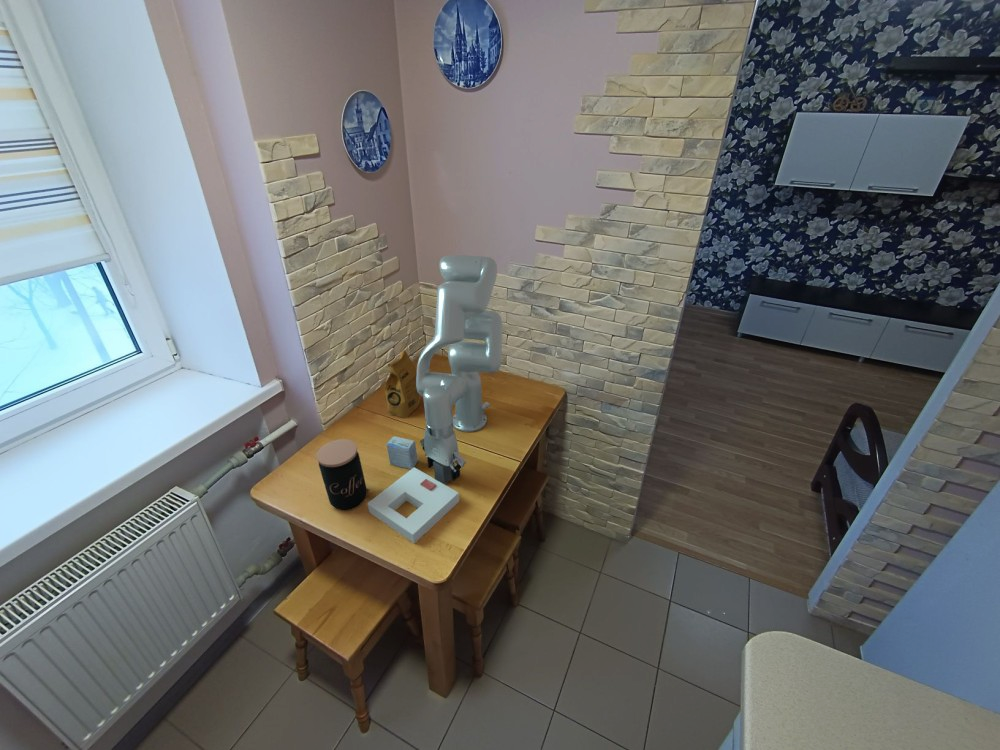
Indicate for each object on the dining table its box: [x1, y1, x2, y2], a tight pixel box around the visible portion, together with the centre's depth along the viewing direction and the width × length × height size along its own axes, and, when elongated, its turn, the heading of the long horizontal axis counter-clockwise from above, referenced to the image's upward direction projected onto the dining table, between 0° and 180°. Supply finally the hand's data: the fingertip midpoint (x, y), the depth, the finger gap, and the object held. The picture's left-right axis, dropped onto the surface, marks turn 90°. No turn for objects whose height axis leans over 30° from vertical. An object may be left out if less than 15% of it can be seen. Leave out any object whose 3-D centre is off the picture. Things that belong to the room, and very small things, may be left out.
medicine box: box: [386, 435, 419, 470], centre depth 144 cm, size 8×4×9 cm, turn 71°
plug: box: [432, 461, 456, 485], centre depth 139 cm, size 5×4×8 cm
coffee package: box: [384, 350, 421, 419], centre depth 166 cm, size 10×12×22 cm
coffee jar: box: [316, 438, 368, 511], centre depth 129 cm, size 11×11×18 cm
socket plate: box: [366, 467, 460, 544], centre depth 130 cm, size 18×18×4 cm
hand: (444, 471), depth 139 cm, fingers open, 9 cm apart
